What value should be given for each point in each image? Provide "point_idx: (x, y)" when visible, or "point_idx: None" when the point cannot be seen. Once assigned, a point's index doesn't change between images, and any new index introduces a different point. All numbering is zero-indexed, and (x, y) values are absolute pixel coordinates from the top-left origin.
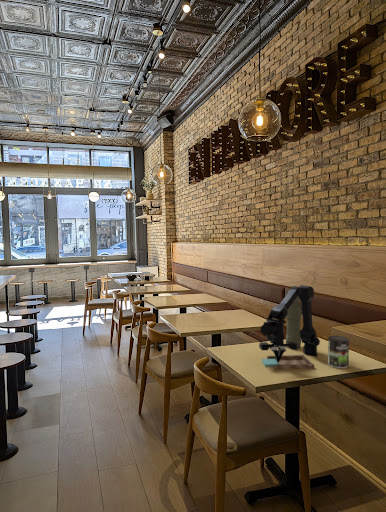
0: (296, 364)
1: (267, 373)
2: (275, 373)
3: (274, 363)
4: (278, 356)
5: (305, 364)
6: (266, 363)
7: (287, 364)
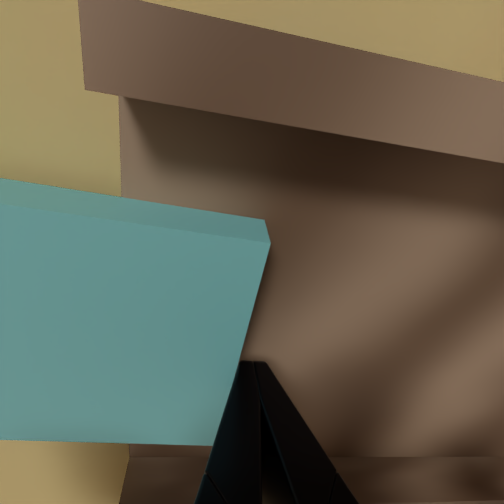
0: (476, 385)
1: (31, 496)
2: (119, 497)
3: (158, 428)
4: (268, 497)
5: (496, 501)
6: (14, 420)
7: (370, 375)
